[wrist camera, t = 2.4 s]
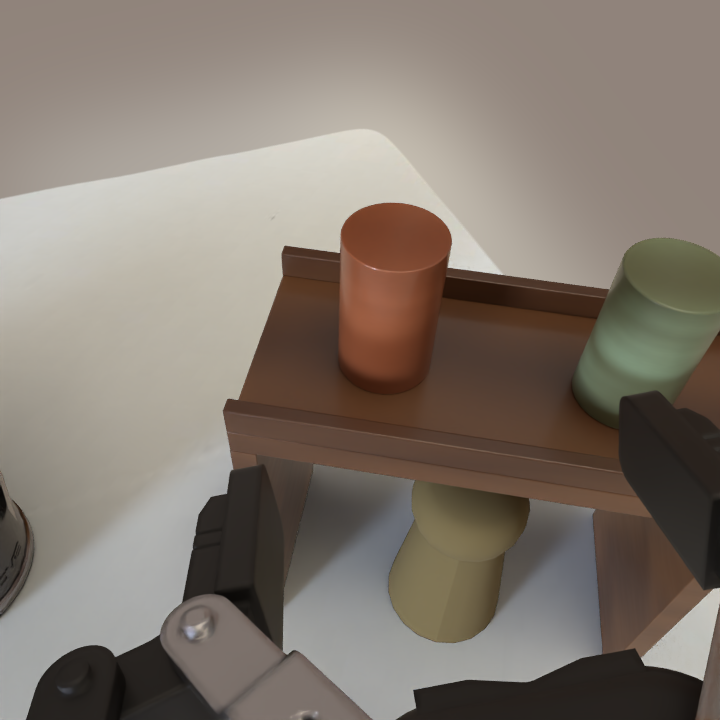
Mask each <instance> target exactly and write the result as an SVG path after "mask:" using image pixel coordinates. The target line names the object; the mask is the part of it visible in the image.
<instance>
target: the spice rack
mask: <svg viewBox="0 0 720 720" xmlns="http://www.w3.org/2000/svg"><path fill="white" fill-rule="evenodd" d="M451 245H452V238H451V234H450V231H449V229H448V227H447V226H446V225H445V223H444V222H443V221H442V220H441V219H440V218H439V217H437V216H436V215H434V214H433V213H431V212H429V211H427V210H425V209H423V208H420V207H417V206H413V205H409V204H403V203H381V204H375V205H371V206H368V207H365V208H362V209H360V210H358V211H357V212H355V213H353V214H352V215H351V216H350V217H349V218H348V219H347V220H346V221H345V223H344V225H343V227H342V229H341V239H340V253H335V252H328V251H320V250H313V249H305V248H298V247H291V246H284V249H283V252H282V270H283V277H282V280H281V283H280V286H279V288H278V291H277V294H276V297H275V299H274V302H273V305H272V308H271V311H270V313H269V316H268V319H267V322H266V324H265V327H264V330H263V333H262V336H261V338H260V341H259V344H258V347H257V349H256V352H255V355H254V358H253V361H252V363H251V366H250V369H249V372H248V374H247V377H246V380H245V383H244V385H243V388H242V391H241V394H240V397H239V399H238V400H234V399H227V401H226V404H225V407H224V409H223V414H224V420H225V425H226V430H227V435H228V440H229V445H230V453H231V458H232V463H233V469H234V470H235V469H240V468H246V467H251V466H256V465H261V464H264V465H265V467H266V469H267V472H268V475H269V479H270V482H271V486H272V489H273V492H274V496H275V499H276V503H277V506H278V509H279V513H280V516H281V520H282V525H283V532H284V543H285V547H284V586H285V582H286V578H287V574H288V570H289V566H290V562H291V558H292V554H293V550H294V545H295V541H296V537H297V533H298V529H299V525H300V521H301V517H302V513H303V509H304V505H305V501H306V497H307V492H308V488H309V484H310V480H311V476H312V472H313V464H319V465H325V466H332V467H338V468H344V469H350V470H357V471H363V472H369V473H375V474H381V475H388V476H394V477H400V478H406V479H413V480H419V481H425V482H431V483H438V484H444V485H450V486H456V487H462V488H469V489H475V490H481V491H487V492H494V493H500V494H506V495H512V496H518V497H525V498H531V499H537V500H543V501H550V502H556V503H562V504H568V505H575V506H581V507H587V508H593V509H596V510H595V512H594V514H593V525H594V538H595V552H596V566H597V579H598V593H599V607H600V620H601V634H602V647H603V654H607V653H612V652H618V651H623V650H628V649H633V648H635V649H636V651H637V652H638V654H639V656H640V658H641V657H642V656H643V655H644V654H645V653H646V652H647V651H649V650H650V649H651V648H652V647H653V646H654V645H655V644H656V643H657V642H658V641H659V640H660V639H661V638H662V637H663V636H664V635H665V634H666V633H667V632H668V631H670V630H671V629H672V628H673V627H674V626H675V625H676V624H677V623H678V622H679V621H680V620H681V619H682V618H683V617H684V616H685V615H686V614H687V613H688V612H689V611H691V610H692V609H693V608H694V607H695V606H696V605H697V604H698V603H699V602H700V601H701V600H702V599H703V598H704V597H705V596H706V595H707V594H708V593H709V592H711V591H712V590H713V589H709V590H704V591H703V589H702V588H701V586H700V585H699V583H698V582H697V581H696V579H695V578H694V576H693V575H692V573H691V572H690V570H689V569H688V568H687V566H686V565H685V563H684V562H683V560H682V559H681V558H680V556H679V555H678V553H677V552H676V550H675V549H674V548H673V546H672V545H671V543H670V542H669V540H668V539H667V538H666V536H665V535H664V533H663V532H662V530H661V529H660V527H659V526H658V525H657V523H656V522H655V520H654V519H653V517H652V516H651V515H650V513H649V512H648V510H647V509H646V507H645V506H644V505H643V503H642V502H641V500H640V499H639V497H638V496H637V495H636V493H635V492H634V490H633V489H632V487H631V486H630V485H629V483H628V482H627V480H626V478H625V476H624V474H623V472H622V469H621V465H620V461H619V403H620V399H621V398H622V397H623V396H628V395H634V394H639V393H644V392H649V391H655V390H657V391H659V392H660V393H661V394H662V395H663V396H664V397H665V398H666V399H667V400H668V401H669V402H670V403H671V404H672V405H673V406H674V407H675V408H676V409H681V408H688V409H690V410H692V411H694V412H696V413H698V414H700V415H702V416H704V417H706V418H708V419H709V420H710V421H711V422H712V423H713V424H714V425H715V426H716V427H717V428H718V429H719V430H720V257H719V256H718V255H716V254H715V253H713V252H711V251H710V250H708V249H706V248H704V247H701V246H699V245H697V244H694V243H691V242H687V241H683V240H678V239H672V238H653V239H647V240H644V241H641V242H638V243H636V244H635V245H633V246H632V247H630V248H629V250H627V251H626V253H625V254H624V257H623V259H622V262H621V264H620V266H619V268H618V271H617V273H616V276H615V278H614V280H613V283H612V285H611V287H610V290H609V289H601V288H594V287H586V286H579V285H572V284H571V285H570V284H564V283H557V282H549V281H542V280H534V279H527V278H520V277H512V276H505V275H498V274H490V273H483V272H475V271H468V270H461V269H453V268H448V262H449V256H450V251H451Z"/></svg>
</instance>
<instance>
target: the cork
mask: <svg viewBox="0 0 720 720" xmlns="http://www.w3.org/2000/svg"><path fill="white" fill-rule="evenodd" d="M412 512H413V515H414V518H415V520H414V522H413V524H412V526H411V528H410V530H409V532H408V534H407V536H406V538H405V540H404V542H403V544H402V546H401V548H400V550H399V552H398V554H397V556H396V558H395V560H394V563H393V566H392V568H391V571H390V574H389V594H390V598H391V601H392V604H393V608H394V609H395V611H396V612H397V614H398V615H399V617H400V618H401V620H402V621H403V623H404V624H405V625H407V626H408V627H409V628H410V629H412V630H413V631H414V632H415V633H417V634H418V635H420V636H422V637H425V638H427V639H430V640H432V641H435V642H445V643H456V642H460V641H464V640H467V639H471V638H472V637H474V636H475V635H477V634H478V633H479V632H481V631H482V630H484V629H485V628H486V626H487V625H488V623H489V622H490V620H491V619H492V618H493V616H494V614H495V610H496V606H497V602H498V598H499V591H500V584H501V577H502V570H503V562H504V555H505V551H507V550H508V549H510V548H511V547H512V546H514V544H515V543H516V542H517V540H518V539H519V537H520V536H521V534H522V533H523V531H524V529H525V527H526V525H527V520H528V516H529V512H530V502H529V498H525V497H518V496H512V495H506V494H500V493H494V492H487V491H481V490H475V489H469V488H462V487H456V486H450V485H444V484H438V483H431V482H425V481H419V480H415V483H414V485H413V490H412Z"/></svg>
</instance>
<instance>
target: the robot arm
mask: <svg viewBox="0 0 720 720" xmlns="http://www.w3.org/2000/svg"><path fill="white" fill-rule="evenodd" d="M619 461H620V465H621V469H622V472H623V474H624V476H625V478H626V480H627V482H628V483H629V485H630V486H631V487H632V489H633V490H634V492H635V493H636V495H637V496H638V497H639V499H640V500H641V502H642V503H643V505H644V506H645V507H646V509H647V510H648V512H649V513H650V515H651V516H652V517H653V519H654V520H655V522H656V523H657V525H658V526H659V527H660V529H661V530H662V532H663V533H664V535H665V536H666V538H667V539H668V540H669V542H670V543H671V545H672V546H673V548H674V549H675V550H676V552H677V553H678V555H679V556H680V558H681V559H682V560H683V562H684V563H685V565H686V566H687V568H688V569H689V570H690V572H691V573H692V575H693V576H694V578H695V579H696V581H697V582H698V583H699V585H700V586H701V588H702V589H703V591H704V590H709V589H715V588H720V430H719V429H718V428H717V427H716V426H715V425H714V424H713V423H712V422H711V421H710V420H709V419H708V418H706V417H704V416H702V415H700V414H698V413H696V412H694V411H692V410H690V409H688V408H681V409H676V408H675V407H674V406H673V405H672V404H671V403H670V402H669V401H668V400H667V399H666V398H665V397H664V396H663V395H662V394H661V393H660V392H659V391H657V390H655V391H649V392H644V393H639V394H634V395H628V396H623V397H622V398H621V399H620V403H619ZM284 547H285V543H284V532H283V525H282V520H281V516H280V513H279V509H278V506H277V503H276V499H275V496H274V492H273V489H272V486H271V482H270V479H269V475H268V472H267V469H266V467H265V465H264V464H261V465H256V466H251V467H246V468H240V469H235V470H231V472H230V477H229V484H228V491H227V494H224V495H219V496H214V497H211V498H210V499H209V501H208V502H207V504H206V505H205V506H204V508H203V509H202V511H201V512H200V514H199V516H198V522H197V527H196V536H195V537H194V543H193V550H192V553H191V559H190V564H189V569H188V575H187V580H186V585H185V590H184V596H183V601H182V604H180V605H179V606H178V607H176V608H175V609H174V610H173V611H172V612H171V613H170V614H169V615H168V617H167V618H166V620H165V621H164V623H163V625H162V628H161V633H160V635H158V636H157V637H155V638H154V639H152V640H151V641H149V642H147V643H145V644H143V645H141V646H139V647H137V648H134V649H132V650H130V651H128V652H126V653H124V654H121V655H119V656H117V657H115V656H114V655H113V653H112V652H111V651H110V650H109V649H107V648H105V647H103V646H98V645H90V646H84V647H81V648H78V649H75V650H73V651H71V652H69V653H67V654H65V655H64V656H62V657H61V658H59V659H58V660H57V661H56V662H55V663H53V664H52V665H51V666H50V667H49V668H48V669H47V670H46V672H45V673H44V674H43V676H42V677H41V679H40V681H39V682H38V685H37V687H36V690H35V693H34V696H33V699H32V702H31V706H30V709H29V712H28V715H27V718H26V720H372V719H371V718H370V717H369V716H368V715H367V714H366V713H365V712H364V711H363V710H362V709H361V708H360V707H359V706H357V705H356V704H355V703H354V702H353V701H352V700H351V699H350V698H349V697H348V696H347V695H346V694H345V693H344V692H342V691H341V690H340V689H339V688H338V687H337V686H336V685H335V684H334V683H333V682H332V681H331V680H330V679H328V678H327V677H326V676H325V675H324V674H323V673H322V672H321V671H320V670H319V669H318V668H317V667H316V666H315V665H313V664H312V663H311V662H310V661H309V660H308V659H307V658H306V657H305V656H304V655H302V654H301V653H300V652H298V651H295V650H293V651H292V652H290V653H289V654H288V655H286V654H285V653H284V652H283V600H284ZM33 552H34V539H33V533H32V529H31V526H30V524H29V521H28V519H27V518H26V516H25V515H24V513H23V512H22V510H21V509H20V507H19V506H18V505H17V504H16V503H15V502H14V501H13V500H12V499H11V498H10V496H9V494H8V491H7V488H6V485H5V481H4V478H3V475H2V473H1V471H0V615H1V614H2V613H3V612H4V611H5V610H6V608H7V607H8V606H9V605H10V604H11V602H12V601H13V600H14V598H15V597H16V596H17V594H18V592H19V591H20V589H21V588H22V586H23V584H24V582H25V580H26V578H27V575H28V573H29V570H30V567H31V563H32V559H33ZM413 691H414V697H415V703H416V709H414V710H412V711H410V712H407V713H406V714H404V715H402V716H401V717H399V718H398V719H396V720H720V605H719V610H718V614H717V619H716V624H715V629H714V633H713V638H712V643H711V648H710V652H709V657H708V662H707V666H706V671H705V676H704V681H702V680H699V679H697V678H695V677H692V676H689V675H687V674H684V673H681V672H677V671H673V670H669V669H665V668H658V667H652V666H644V664H643V662H642V660H641V658H640V656H639V654H638V652H637V651H636V649H635V648H633V649H628V650H623V651H618V652H612V653H607V654H602V655H596V656H591V657H586V658H581V659H579V660H576V661H574V662H572V663H570V664H568V665H566V666H564V667H561V668H559V669H557V670H555V671H553V672H551V673H549V674H547V675H544V676H542V677H540V678H538V679H536V680H534V681H531V682H502V681H481V680H464V681H459V682H454V683H448V684H443V685H438V686H433V687H427V688H422V689H417V690H413Z"/></svg>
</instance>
